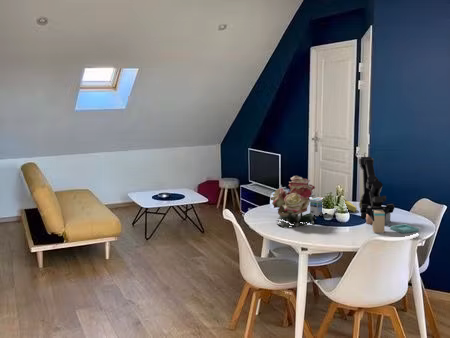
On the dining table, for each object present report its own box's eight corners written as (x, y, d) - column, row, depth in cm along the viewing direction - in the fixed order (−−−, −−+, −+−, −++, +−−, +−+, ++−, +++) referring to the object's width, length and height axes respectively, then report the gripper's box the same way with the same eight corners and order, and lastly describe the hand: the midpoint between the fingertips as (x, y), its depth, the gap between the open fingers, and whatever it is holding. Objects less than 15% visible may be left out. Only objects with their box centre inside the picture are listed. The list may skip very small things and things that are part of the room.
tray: (390, 229, 295) (390, 226, 295) (405, 227, 299) (405, 224, 299) (403, 233, 285) (403, 230, 285) (418, 231, 289) (418, 228, 289)
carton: (372, 230, 294) (372, 210, 292) (382, 230, 293) (382, 210, 292) (374, 232, 288) (374, 212, 286) (384, 232, 288) (384, 212, 286)
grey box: (373, 223, 308) (374, 210, 307) (378, 220, 315) (379, 208, 314) (386, 225, 304) (386, 212, 302) (390, 222, 310) (391, 209, 309)
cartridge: (364, 223, 309) (365, 214, 308) (367, 222, 312) (367, 212, 311) (371, 224, 306) (372, 215, 305) (374, 223, 309) (374, 213, 309)
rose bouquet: (269, 218, 327) (269, 173, 323) (314, 218, 326) (314, 172, 322) (272, 228, 302) (271, 179, 297) (321, 228, 301) (321, 178, 297)
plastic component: (358, 208, 340) (345, 203, 338) (353, 218, 341) (340, 212, 339) (348, 200, 359) (336, 195, 357) (343, 209, 360) (331, 204, 358)
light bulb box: (317, 216, 330) (317, 200, 329) (309, 214, 335) (309, 199, 334) (327, 213, 337) (327, 198, 335) (319, 212, 342) (319, 196, 341)
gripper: (361, 190, 292) (364, 213, 283) (394, 190, 291) (398, 213, 281) (358, 201, 301) (361, 223, 292) (390, 201, 299) (394, 223, 290)
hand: (379, 220), depth 288 cm, fingers closed on carton, 5 cm apart
